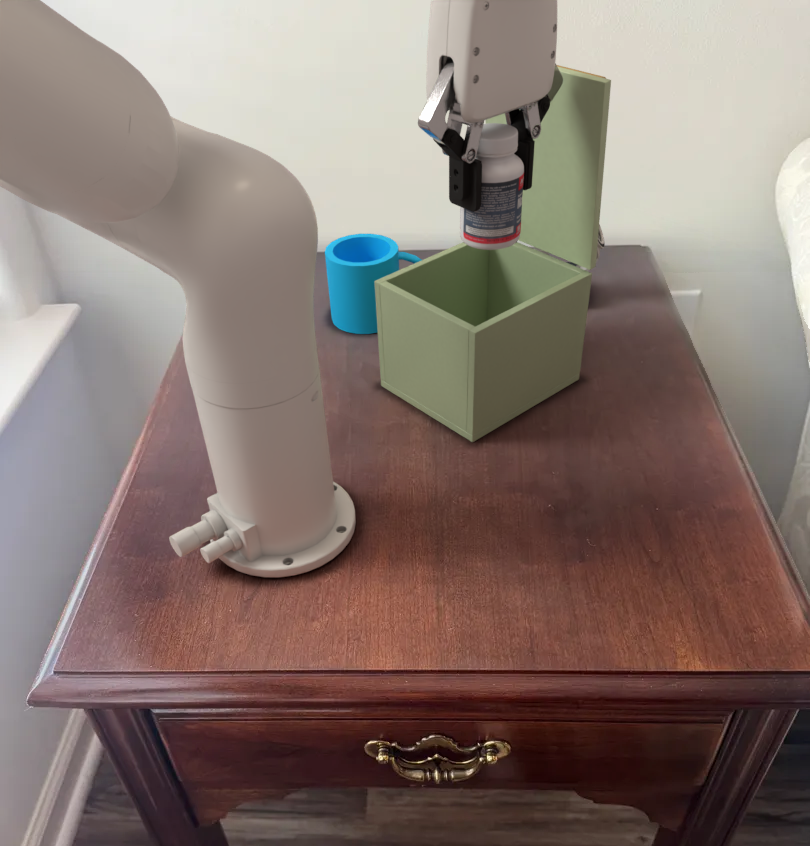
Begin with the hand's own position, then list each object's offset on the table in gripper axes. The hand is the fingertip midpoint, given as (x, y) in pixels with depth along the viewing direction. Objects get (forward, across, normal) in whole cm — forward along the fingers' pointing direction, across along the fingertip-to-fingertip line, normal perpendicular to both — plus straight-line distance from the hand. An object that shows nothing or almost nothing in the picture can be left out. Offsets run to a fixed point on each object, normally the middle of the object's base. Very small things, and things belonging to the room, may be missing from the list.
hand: (490, 193), depth 72 cm
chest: (+21, -2, -3) cm, 21 cm away
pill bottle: (+4, 0, 0) cm, 4 cm away
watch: (+21, -22, -9) cm, 32 cm away
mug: (+21, -4, -21) cm, 30 cm away
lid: (+1, -9, -3) cm, 10 cm away
